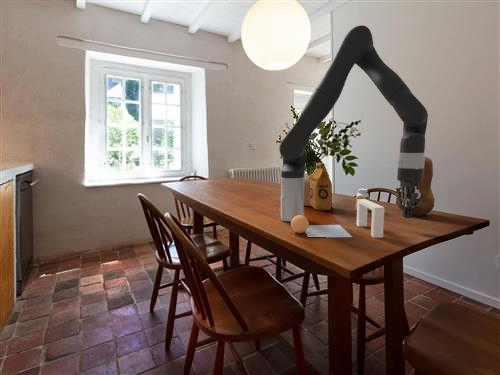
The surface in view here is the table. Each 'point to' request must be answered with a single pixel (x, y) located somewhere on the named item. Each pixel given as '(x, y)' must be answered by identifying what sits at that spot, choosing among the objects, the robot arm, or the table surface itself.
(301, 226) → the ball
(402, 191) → the robot arm
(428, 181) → the butternut squash
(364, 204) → the bridge
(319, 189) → the coffee package
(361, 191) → the supplement bottle
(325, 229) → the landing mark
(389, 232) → the table surface
